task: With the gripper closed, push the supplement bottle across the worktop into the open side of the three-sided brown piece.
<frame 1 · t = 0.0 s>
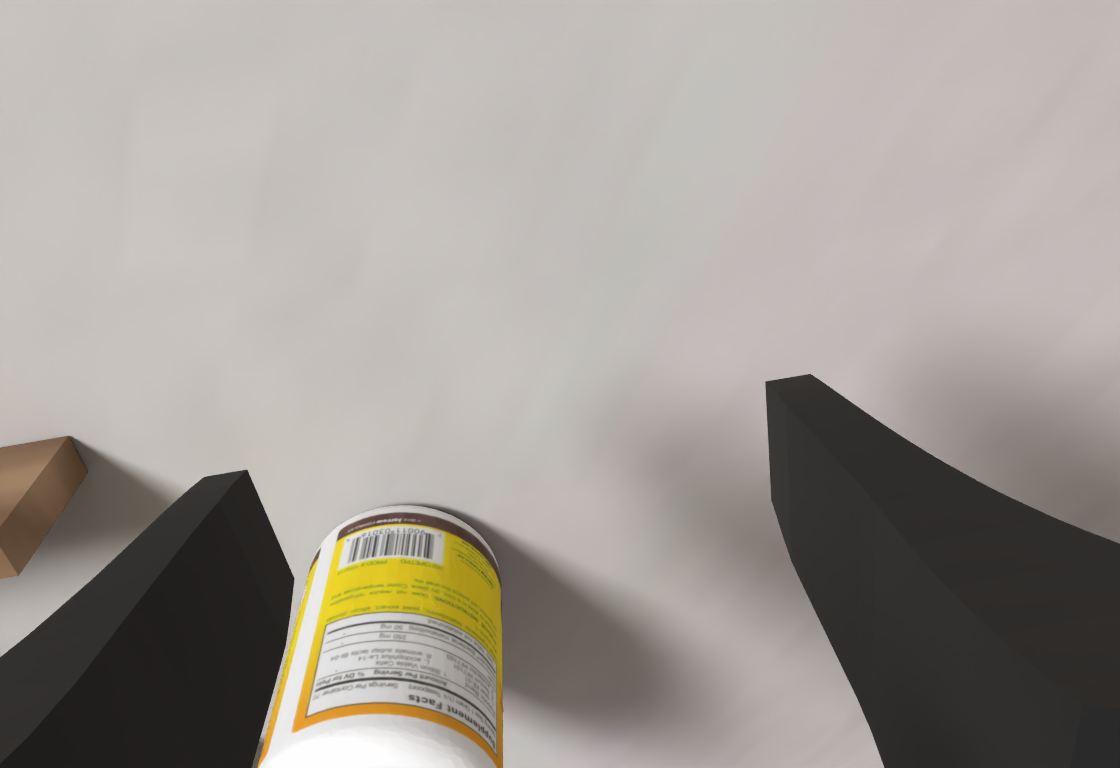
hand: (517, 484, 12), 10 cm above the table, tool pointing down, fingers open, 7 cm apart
supplement bottle: (409, 564, 26), on the table
brown piece: (19, 633, 27), on the table
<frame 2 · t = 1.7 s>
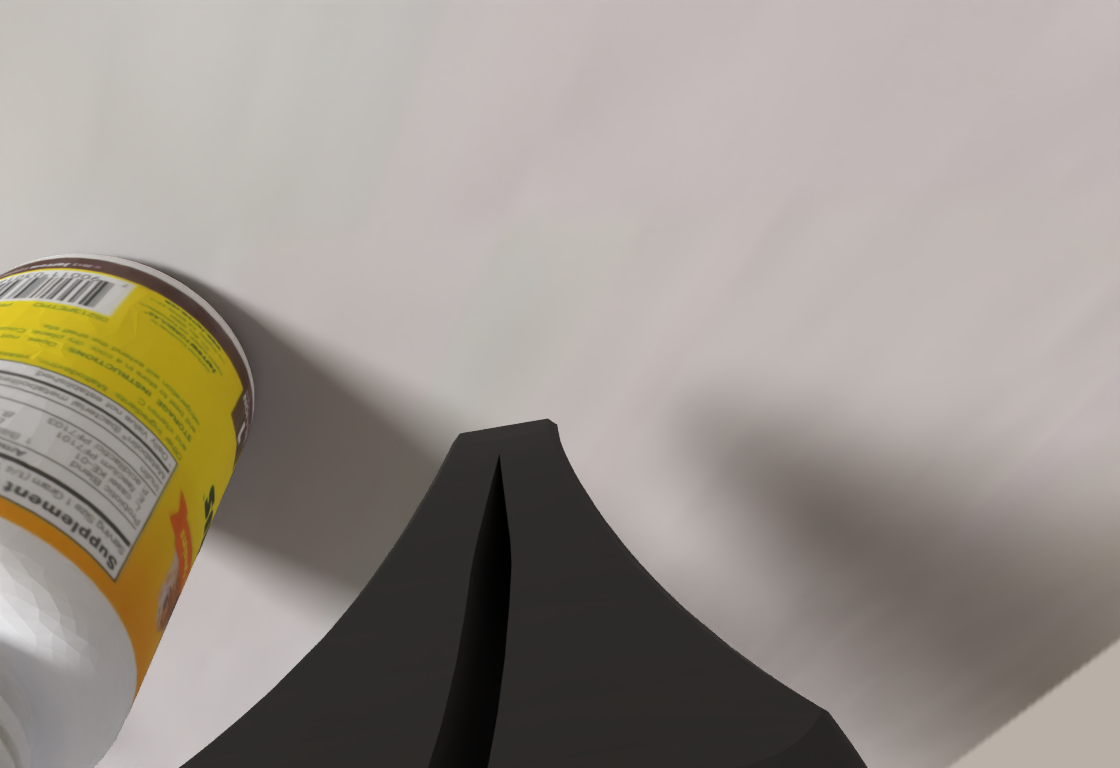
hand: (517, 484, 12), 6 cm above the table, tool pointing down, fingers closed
supplement bottle: (126, 365, 18), on the table
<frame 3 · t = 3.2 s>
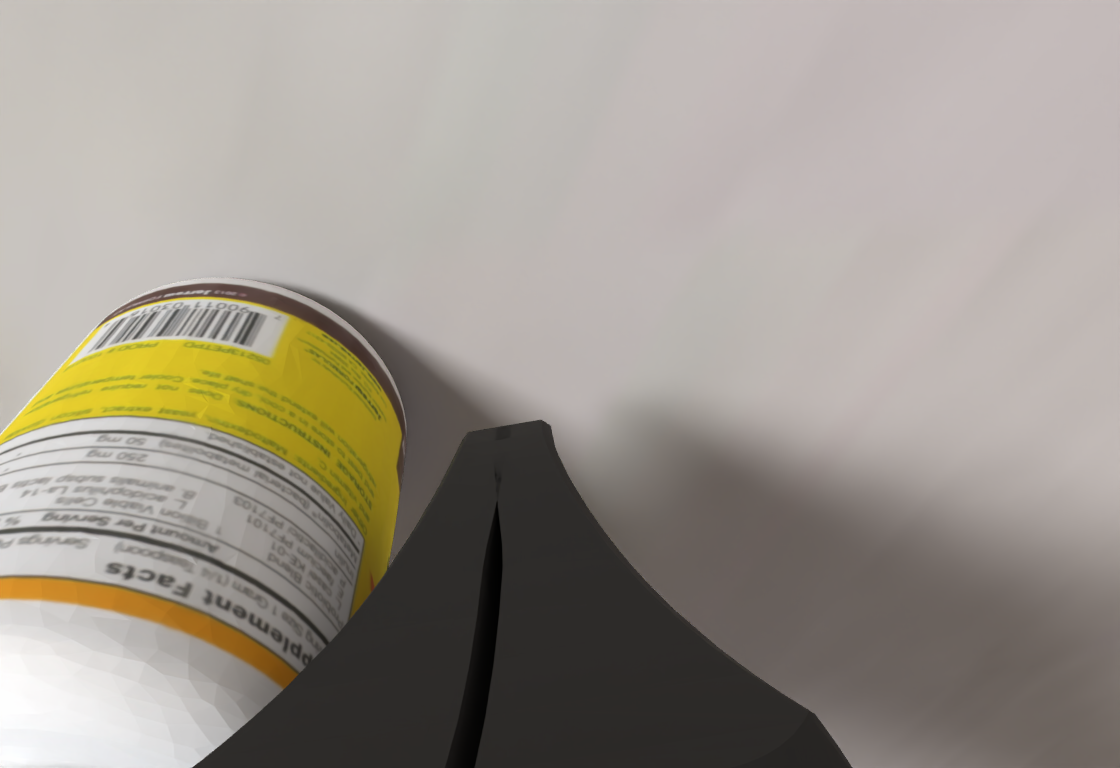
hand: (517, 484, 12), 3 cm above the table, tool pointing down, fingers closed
supplement bottle: (255, 404, 16), on the table, touching gripper
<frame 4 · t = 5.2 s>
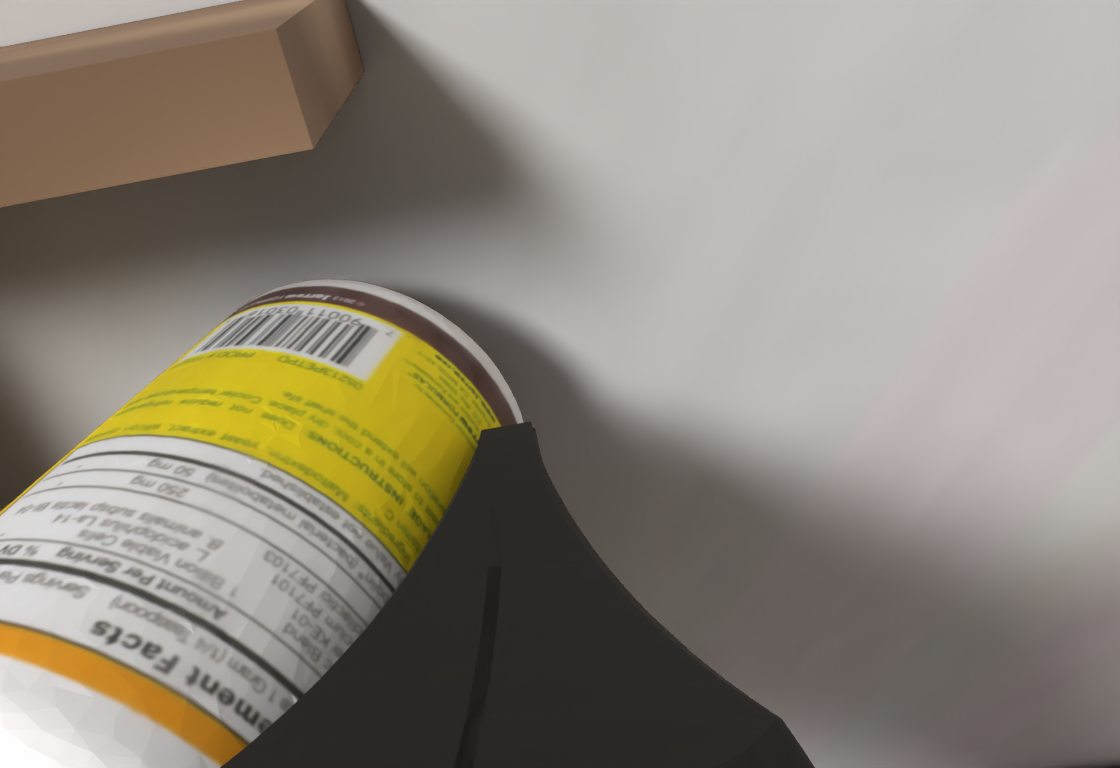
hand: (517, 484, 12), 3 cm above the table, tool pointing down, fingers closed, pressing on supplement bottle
supplement bottle: (385, 408, 15), point 1 cm above the table, touching gripper
brown piece: (196, 422, 16), on the table
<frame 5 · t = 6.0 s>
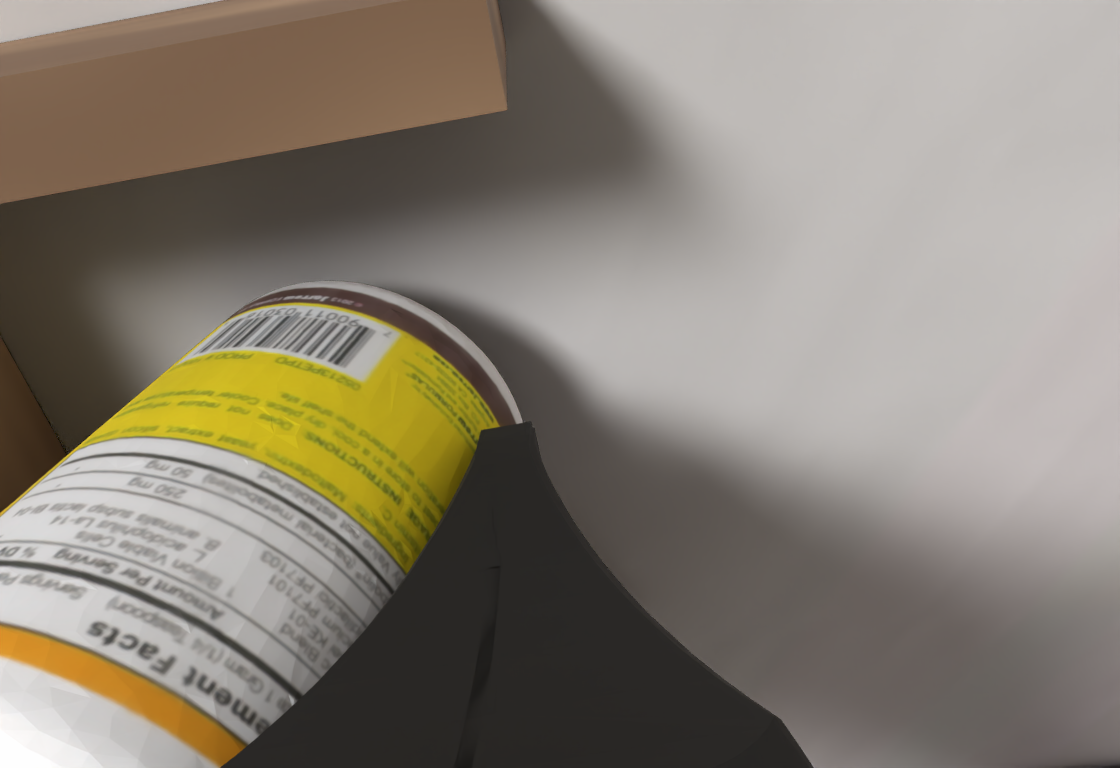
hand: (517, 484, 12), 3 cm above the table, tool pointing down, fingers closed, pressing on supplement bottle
supplement bottle: (385, 410, 15), point 1 cm above the table, touching gripper
brown piece: (310, 400, 15), on the table
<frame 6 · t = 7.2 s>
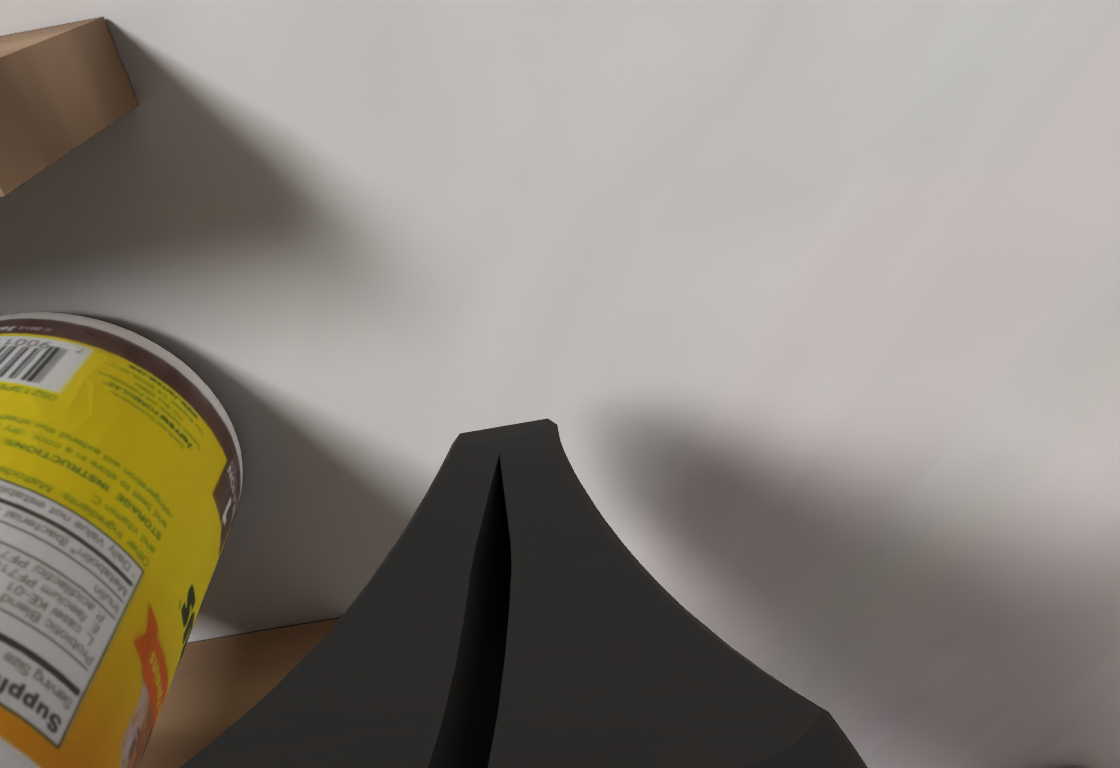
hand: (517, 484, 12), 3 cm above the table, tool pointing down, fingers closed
supplement bottle: (96, 432, 16), on the table
brown piece: (10, 448, 16), on the table
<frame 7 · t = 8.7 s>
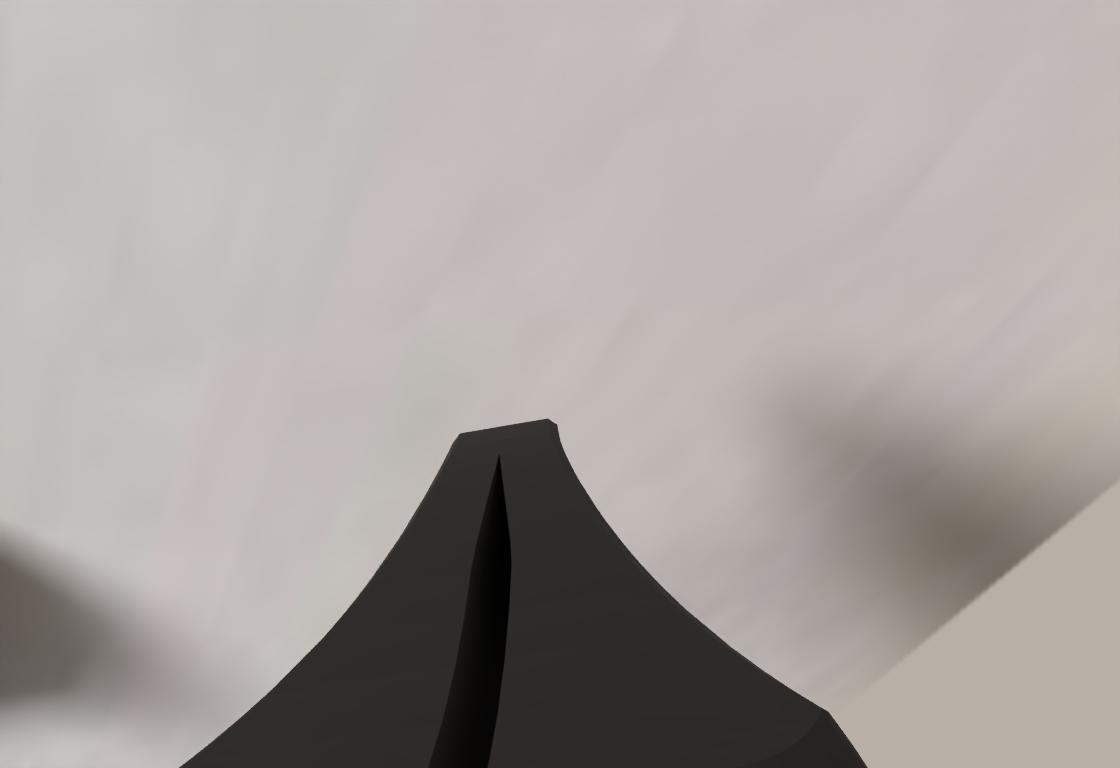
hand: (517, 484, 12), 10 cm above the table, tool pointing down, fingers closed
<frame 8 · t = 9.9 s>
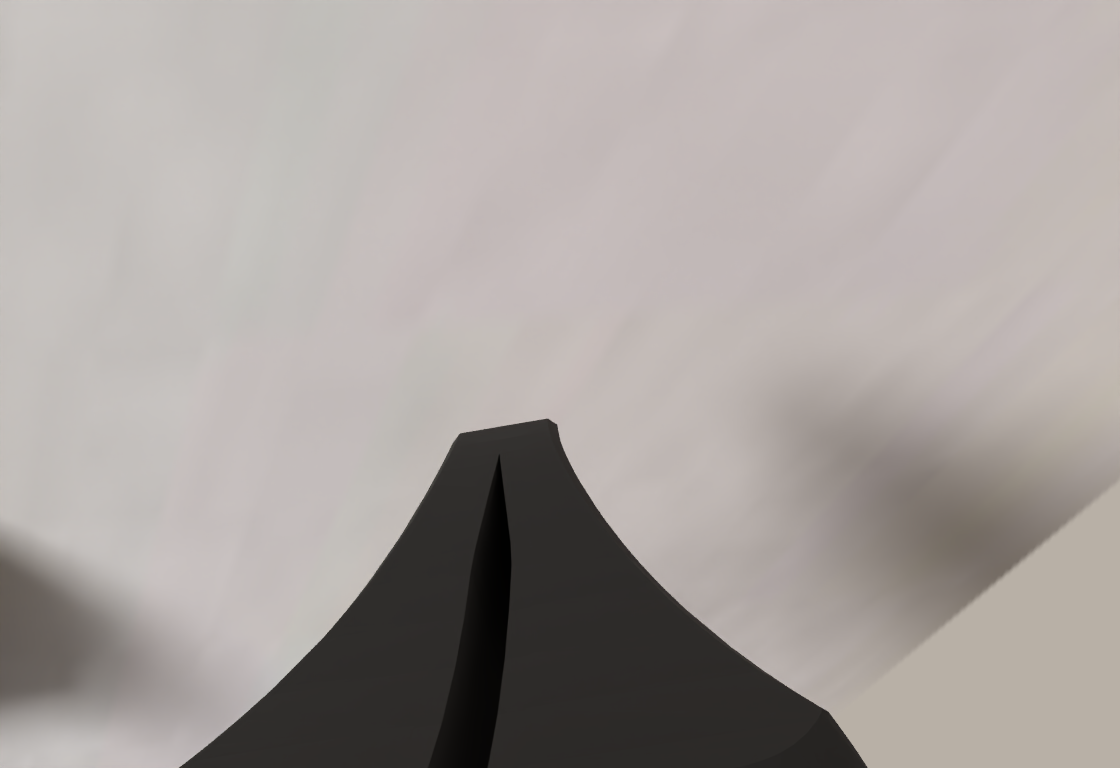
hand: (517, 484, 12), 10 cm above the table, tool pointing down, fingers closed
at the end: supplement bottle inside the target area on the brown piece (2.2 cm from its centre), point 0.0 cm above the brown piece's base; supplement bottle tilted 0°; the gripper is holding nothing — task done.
